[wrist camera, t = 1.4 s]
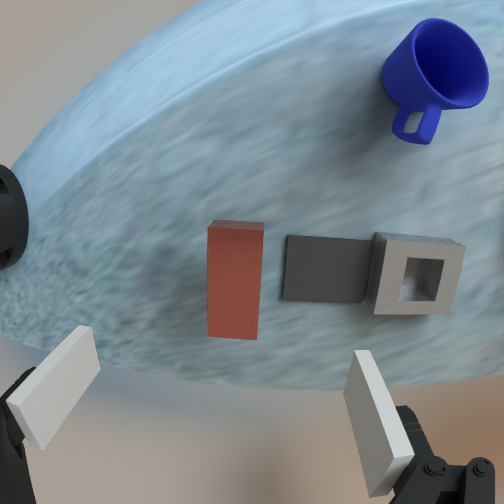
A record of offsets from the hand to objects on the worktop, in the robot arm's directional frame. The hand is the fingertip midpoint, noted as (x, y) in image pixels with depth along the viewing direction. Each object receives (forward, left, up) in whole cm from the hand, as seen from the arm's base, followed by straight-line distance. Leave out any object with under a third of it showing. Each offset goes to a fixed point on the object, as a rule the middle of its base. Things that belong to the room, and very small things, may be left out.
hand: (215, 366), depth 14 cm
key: (0, 0, -20) cm, 20 cm away
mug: (+16, +18, -20) cm, 31 cm away
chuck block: (+19, -1, -20) cm, 27 cm away
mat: (+9, -1, -20) cm, 22 cm away
